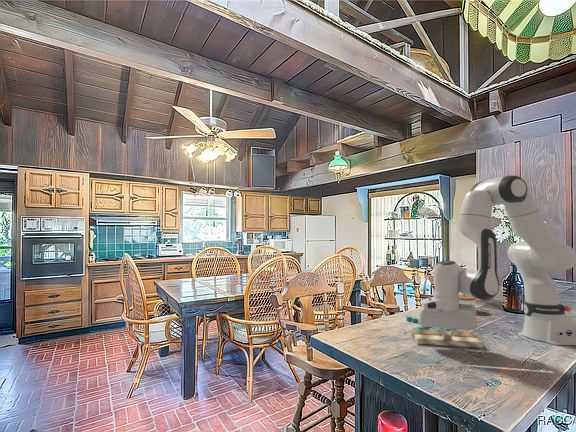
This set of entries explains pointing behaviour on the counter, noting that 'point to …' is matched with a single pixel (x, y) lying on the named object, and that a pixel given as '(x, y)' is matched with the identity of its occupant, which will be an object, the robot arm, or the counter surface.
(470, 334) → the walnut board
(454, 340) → the birch plank
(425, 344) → the underlay mat
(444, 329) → the alien figure
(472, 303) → the lidded jar
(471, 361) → the counter surface
